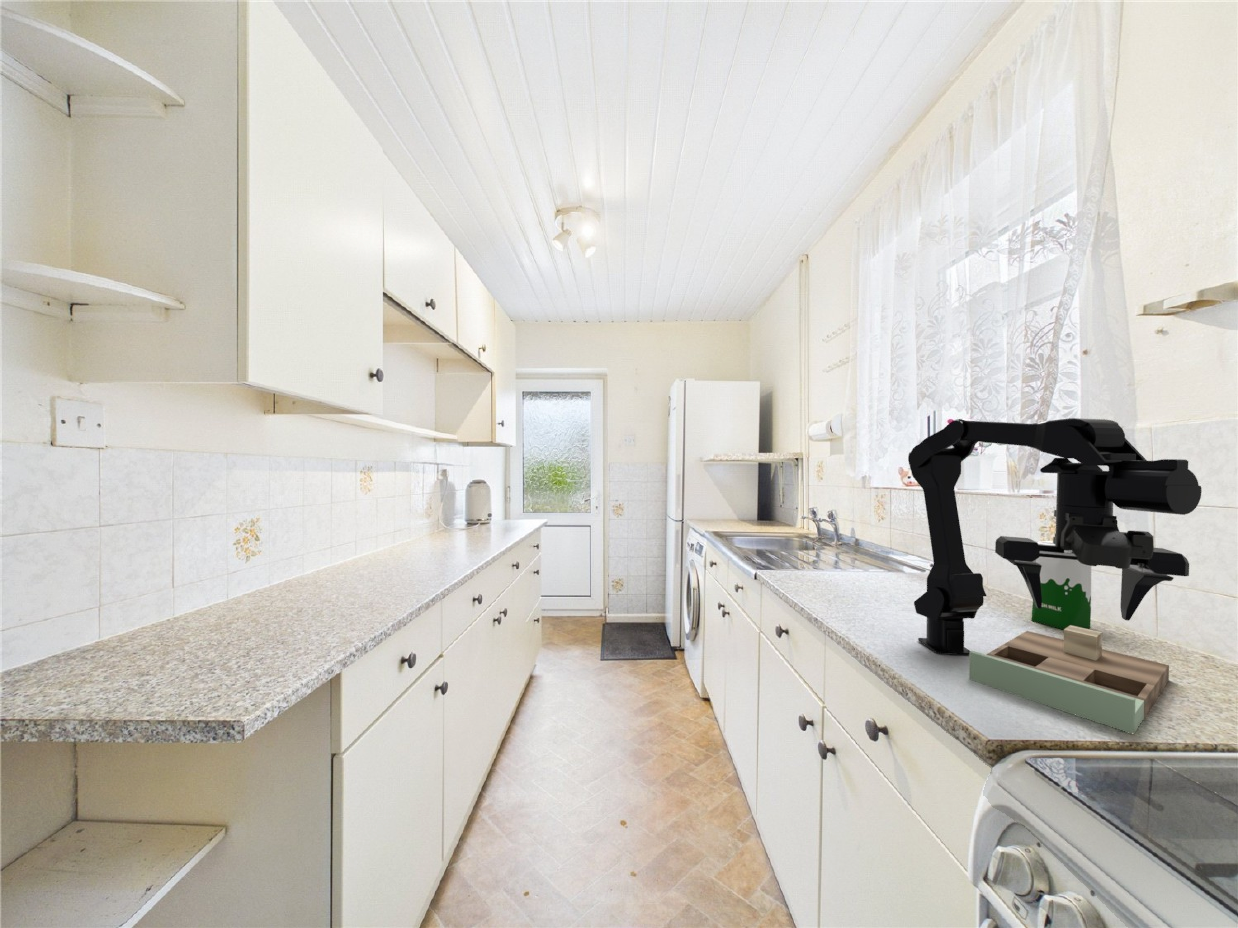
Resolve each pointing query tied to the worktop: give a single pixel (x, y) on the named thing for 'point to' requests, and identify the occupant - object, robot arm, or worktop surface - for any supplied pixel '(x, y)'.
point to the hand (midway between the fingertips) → (1080, 613)
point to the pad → (1058, 692)
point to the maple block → (1083, 642)
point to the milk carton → (1063, 592)
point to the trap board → (1088, 666)
